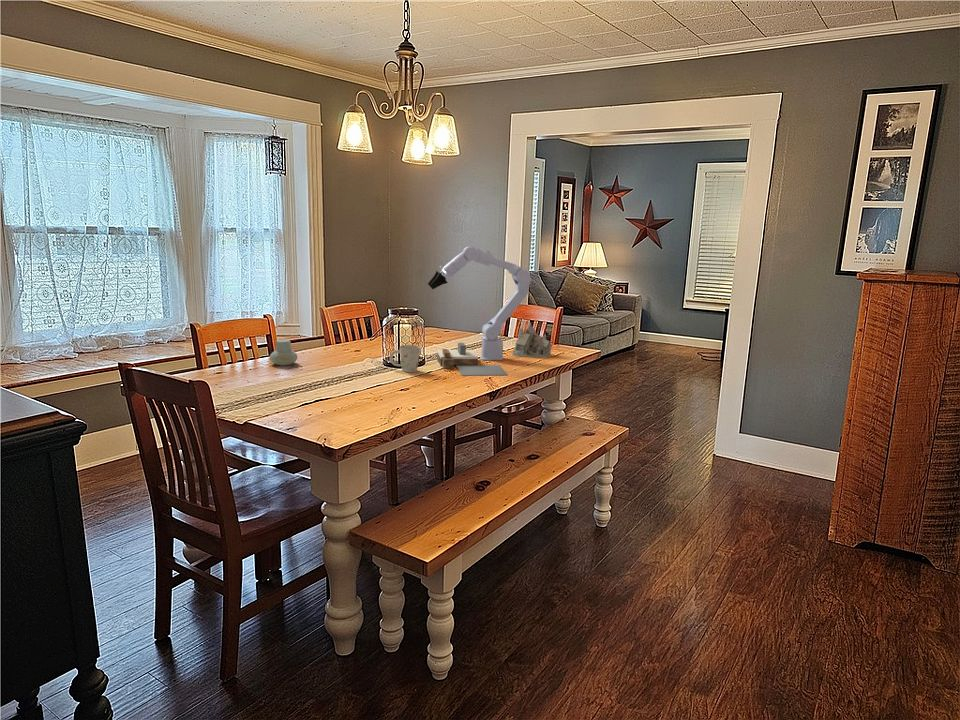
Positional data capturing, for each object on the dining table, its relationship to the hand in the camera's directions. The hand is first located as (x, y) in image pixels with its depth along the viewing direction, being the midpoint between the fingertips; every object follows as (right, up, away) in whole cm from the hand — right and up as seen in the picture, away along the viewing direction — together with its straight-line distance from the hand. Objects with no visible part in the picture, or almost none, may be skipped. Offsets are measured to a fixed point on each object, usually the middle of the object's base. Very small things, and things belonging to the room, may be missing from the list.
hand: (430, 286), depth 277 cm
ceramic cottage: (+46, -30, +24) cm, 60 cm away
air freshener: (-60, -34, -13) cm, 70 cm away
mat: (+22, -36, -11) cm, 44 cm away
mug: (-9, -37, -16) cm, 41 cm away
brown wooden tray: (+12, -34, 0) cm, 36 cm away
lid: (+12, -30, +2) cm, 32 cm away
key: (+7, -30, -4) cm, 31 cm away
